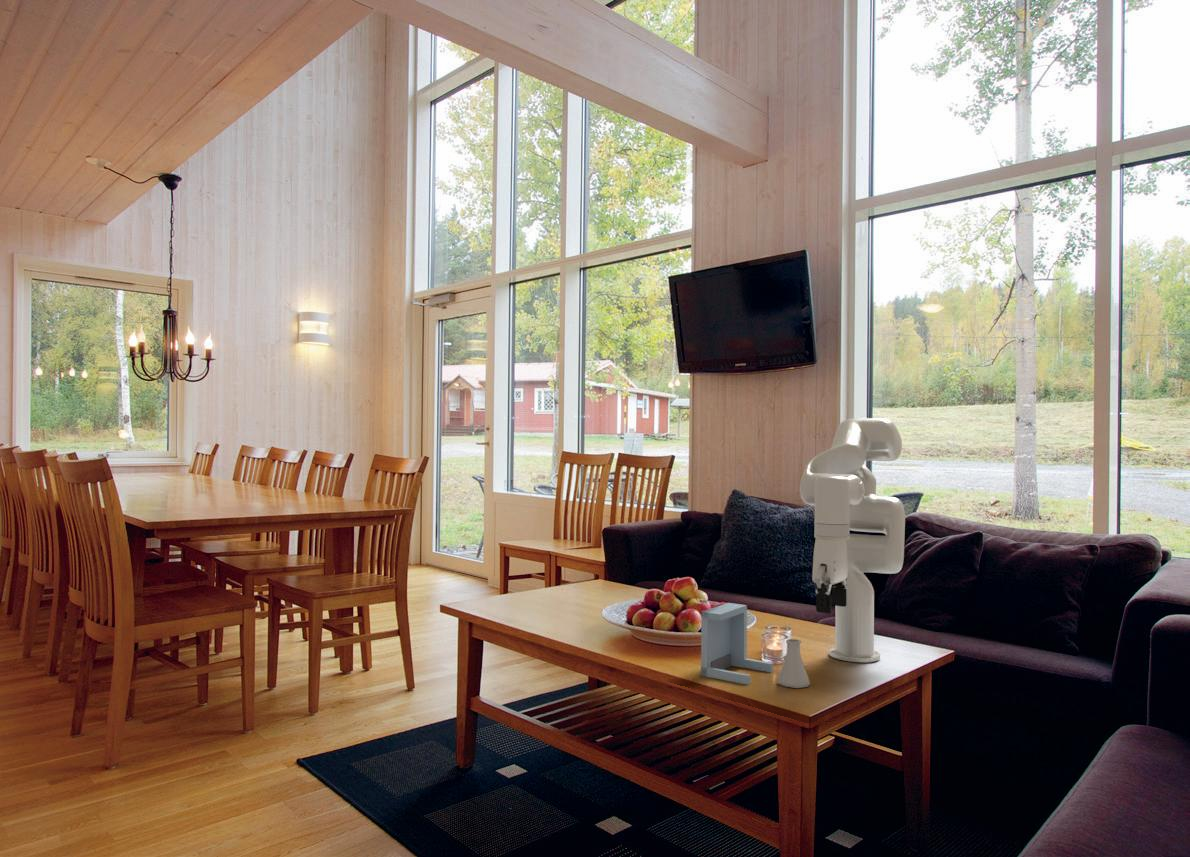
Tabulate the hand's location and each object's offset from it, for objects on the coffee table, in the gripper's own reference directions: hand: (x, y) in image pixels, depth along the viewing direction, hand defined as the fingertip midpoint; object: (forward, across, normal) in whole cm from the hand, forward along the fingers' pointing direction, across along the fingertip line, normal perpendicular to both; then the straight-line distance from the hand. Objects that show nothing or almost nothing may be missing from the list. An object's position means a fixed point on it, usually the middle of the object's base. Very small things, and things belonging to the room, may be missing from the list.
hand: (831, 609), depth 180 cm
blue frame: (+18, 0, -23) cm, 29 cm away
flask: (+19, 0, -9) cm, 21 cm away
